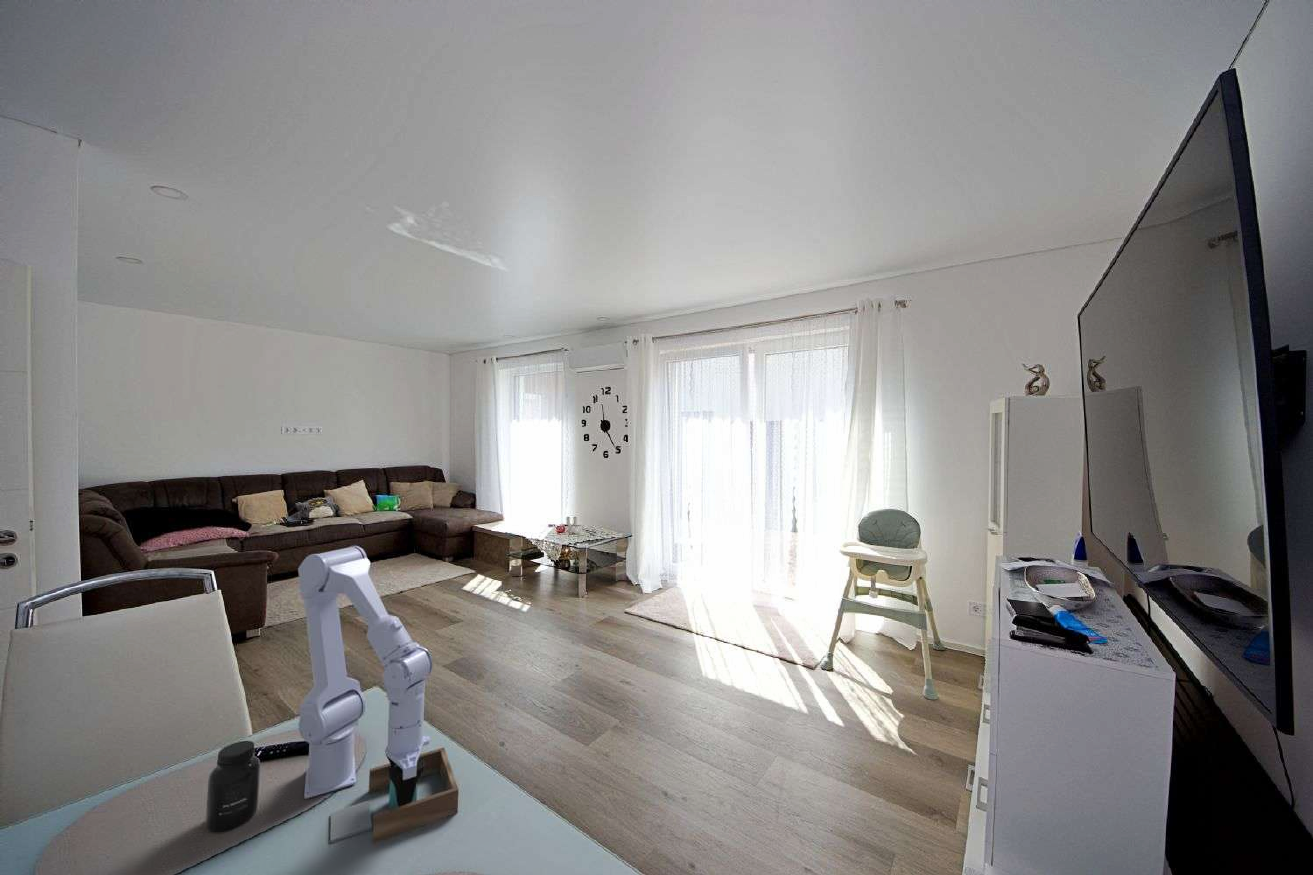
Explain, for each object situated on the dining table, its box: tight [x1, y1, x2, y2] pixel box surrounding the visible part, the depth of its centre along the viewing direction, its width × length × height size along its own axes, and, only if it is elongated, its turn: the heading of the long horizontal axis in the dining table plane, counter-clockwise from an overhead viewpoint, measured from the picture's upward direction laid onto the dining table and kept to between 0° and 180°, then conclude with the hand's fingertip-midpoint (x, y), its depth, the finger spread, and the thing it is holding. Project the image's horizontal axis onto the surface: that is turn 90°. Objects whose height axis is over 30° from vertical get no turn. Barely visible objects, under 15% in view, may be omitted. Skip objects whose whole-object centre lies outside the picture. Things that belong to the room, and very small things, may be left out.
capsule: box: [388, 764, 418, 810], centre depth 88 cm, size 4×4×6 cm
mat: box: [329, 800, 373, 844], centre depth 84 cm, size 7×6×1 cm
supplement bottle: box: [205, 740, 261, 834], centre depth 84 cm, size 7×7×12 cm
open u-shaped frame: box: [368, 747, 459, 844], centre depth 89 cm, size 14×13×4 cm
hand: (403, 795), depth 88 cm, fingers closed on capsule, 4 cm apart
